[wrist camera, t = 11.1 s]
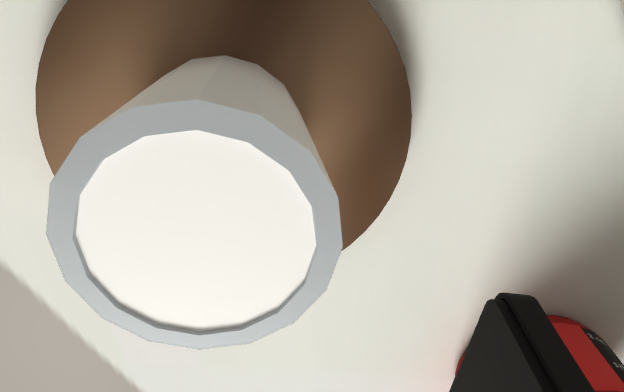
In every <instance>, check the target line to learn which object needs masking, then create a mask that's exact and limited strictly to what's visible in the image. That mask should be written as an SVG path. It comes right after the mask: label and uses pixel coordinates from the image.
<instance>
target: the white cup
mask: <svg viewBox="0 0 624 392" xmlns="http://www.w3.org/2000/svg"><path fill="white" fill-rule="evenodd" d="M46 235H47V237H48V240H49V242H50V245H51V247H52V250H53V252H54V255H55V257H56V259H57V262H58V264H59V267H60V269H61V272H62V274H63V277H64V279H65V281H66V282H67V283H68V284H69V285H70V286H71V287H72V288H73V289H74V290H75V291H76V292H77V293H78V294H79V295H80V296H81V297H82V298H83V299H84V301H85V302H86V303H87V304H88V305H89V306H90V307H91V308H92V309H93V310H94V311H95V312H96V313H97V314H98V315H99V316H100V317H101V318H103V319H105V320H107V321H109V322H111V323H113V324H115V325H117V326H119V327H121V328H123V329H125V330H127V331H129V332H131V333H133V334H135V335H137V336H139V337H141V338H143V339H145V340H147V341H150V342H156V343H162V344H168V345H174V346H180V347H186V348H192V349H198V350H202V349H210V348H218V347H226V346H234V345H242V344H250V343H252V342H254V341H256V340H258V339H261V338H263V337H265V336H267V335H269V334H271V333H273V332H276V331H278V330H280V329H282V328H284V327H286V326H288V325H291V324H293V323H294V322H295V321H296V320H297V319H298V318H299V317H300V316H301V315H302V314H303V313H304V312H305V311H306V310H307V309H308V308H309V307H310V306H311V305H312V304H313V303H314V302H315V301H316V300H317V299H318V298H319V297H320V296H321V295H322V294H323V293H324V292H325V291H326V290H327V287H328V284H329V282H330V279H331V276H332V274H333V271H334V268H335V266H336V263H337V261H338V258H339V255H340V253H341V250H342V247H343V244H342V233H341V222H340V211H339V200H338V196H337V194H336V192H335V190H334V187H333V185H332V183H331V181H330V178H329V176H328V174H327V172H326V169H325V167H324V165H323V163H322V161H321V158H320V156H319V154H318V152H317V149H316V147H315V145H314V143H313V140H312V138H311V136H310V134H309V131H308V129H307V127H306V125H305V123H304V120H303V118H302V116H301V114H300V111H299V110H298V108H297V106H296V104H295V103H294V101H293V99H292V98H291V96H290V94H289V92H288V91H287V89H286V87H285V86H284V84H283V83H281V82H280V81H279V80H277V79H276V78H275V77H274V76H272V75H271V74H270V73H268V72H267V71H266V70H264V69H263V68H262V67H260V66H259V65H258V64H255V63H251V62H248V61H244V60H240V59H237V58H233V57H229V56H226V55H223V56H214V57H206V58H198V59H191V60H189V61H188V62H186V63H184V64H183V65H181V66H179V67H178V68H176V69H174V70H173V71H171V72H169V73H167V74H166V75H164V76H163V77H161V78H160V79H159V80H157V81H156V82H155V83H153V84H152V85H150V86H149V87H148V88H146V89H145V90H144V91H142V92H141V93H140V94H138V95H137V96H136V97H134V98H133V99H131V100H130V101H129V102H127V103H126V104H125V105H123V106H122V107H121V108H119V109H118V110H117V111H115V112H114V113H112V114H111V115H110V116H108V117H107V118H106V119H104V120H103V121H102V122H100V123H99V124H98V125H96V126H95V127H93V128H92V129H91V130H89V131H88V132H87V133H85V134H84V135H83V136H81V137H80V138H79V140H78V141H77V143H76V144H75V146H74V147H73V149H72V150H71V152H70V153H69V155H68V156H67V158H66V160H65V161H64V163H63V164H62V166H61V167H60V169H59V170H58V172H57V173H56V175H55V177H54V178H53V180H52V181H51V183H50V191H49V204H48V217H47V230H46Z"/></svg>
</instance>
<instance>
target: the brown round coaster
mask: <svg viewBox="0 0 624 392" xmlns="http://www.w3.org/2000/svg"><path fill="white" fill-rule="evenodd" d="M223 55H226V56H229V57H233V58H237V59H240V60H244V61H248V62H251V63H255V64H258V65H259V66H260V67H262V68H263V69H264V70H266V71H267V72H268V73H270V74H271V75H272V76H274V77H275V78H276V79H277V80H279V81H280V82H281V83H283V84H284V86H285V87H286V89H287V91H288V92H289V94H290V96H291V98H292V99H293V101H294V103H295V104H296V106H297V108H298V110H299V111H300V114H301V116H302V118H303V120H304V123H305V125H306V127H307V129H308V131H309V134H310V136H311V138H312V140H313V143H314V145H315V147H316V149H317V152H318V154H319V156H320V158H321V161H322V163H323V165H324V167H325V169H326V172H327V174H328V176H329V178H330V181H331V183H332V185H333V187H334V190H335V192H336V194H337V196H338V200H339V211H340V222H341V233H342V244H343V247H342V250H344V249H345V248H346V247H348V246H349V245H351V244H352V243H353V242H354V241H355V240H356V239H357V238H358V237H359V236H360V235H362V234H363V233H364V232H365V231H366V230H367V228H368V227H369V226H370V225H371V224H372V223H373V222H374V220H375V219H376V218H377V217H378V216H379V214H380V213H381V211H382V210H383V208H384V207H385V205H386V204H387V202H388V201H389V199H390V197H391V195H392V193H393V191H394V189H395V187H396V185H397V183H398V181H399V179H400V176H401V173H402V170H403V167H404V164H405V161H406V158H407V153H408V147H409V142H410V136H411V119H412V113H411V100H410V91H409V86H408V81H407V77H406V72H405V68H404V66H403V63H402V60H401V57H400V55H399V52H398V49H397V47H396V45H395V43H394V41H393V39H392V37H391V35H390V33H389V31H388V30H387V28H386V26H385V24H384V22H383V21H382V20H381V18H380V17H379V16H378V14H377V13H376V11H375V10H374V9H373V7H372V6H371V5H370V3H369V2H368V1H367V0H68V2H67V3H66V4H65V6H64V7H63V9H62V10H61V12H60V13H59V15H58V16H57V18H56V20H55V22H54V24H53V26H52V28H51V31H50V33H49V35H48V37H47V39H46V42H45V45H44V49H43V52H42V55H41V59H40V62H39V68H38V75H37V82H36V116H37V122H38V128H39V135H40V139H41V142H42V145H43V149H44V152H45V155H46V159H47V161H48V163H49V165H50V168H51V170H52V172H53V174H54V176H55V175H56V173H57V172H58V170H59V169H60V167H61V166H62V164H63V163H64V161H65V160H66V158H67V156H68V155H69V153H70V152H71V150H72V149H73V147H74V146H75V144H76V143H77V141H78V140H79V138H80V137H81V136H83V135H84V134H85V133H87V132H88V131H89V130H91V129H92V128H93V127H95V126H96V125H98V124H99V123H100V122H102V121H103V120H104V119H106V118H107V117H108V116H110V115H111V114H112V113H114V112H115V111H117V110H118V109H119V108H121V107H122V106H123V105H125V104H126V103H127V102H129V101H130V100H131V99H133V98H134V97H136V96H137V95H138V94H140V93H141V92H142V91H144V90H145V89H146V88H148V87H149V86H150V85H152V84H153V83H155V82H156V81H157V80H159V79H160V78H161V77H163V76H164V75H166V74H167V73H169V72H171V71H173V70H174V69H176V68H178V67H179V66H181V65H183V64H184V63H186V62H188V61H189V60H191V59H198V58H206V57H214V56H223ZM342 250H341V251H342Z"/></svg>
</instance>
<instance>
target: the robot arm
mask: <svg viewBox="0 0 624 392" xmlns="http://www.w3.org/2000/svg"><path fill="white" fill-rule="evenodd" d="M621 7H622V10H623V14H624V0H621ZM449 392H595V390H594V389H593V387H592V386H591V384H590V383H589V381H588V379H587V378H586V376H585V375H584V373H583V372H582V370H581V369H580V367H579V365H578V364H577V362H576V361H575V359H574V358H573V356H572V354H571V353H570V351H569V350H568V348H567V347H566V345H565V343H564V342H563V340H562V339H561V337H560V336H559V334H558V332H557V331H556V329H555V328H554V326H553V325H552V323H551V321H550V320H549V318H548V317H547V315H546V314H545V312H544V311H543V309H542V307H541V306H540V304H539V303H538V301H537V300H536V299H535V298H534V297H532V296H529V295H520V294H511V293H499V294H498V295H497V296H496V298H495V299H490V300H488V301H487V302H486V304H485V306H484V309H483V311H482V314H481V316H480V318H479V321H478V323H477V326H476V328H475V331H474V333H473V335H472V338H471V340H470V343H469V345H468V347H467V350H466V352H465V355H464V357H463V360H462V362H461V364H460V367H459V369H458V372H457V374H456V377H455V379H454V381H453V384H452V386H451V389H450V391H449Z"/></svg>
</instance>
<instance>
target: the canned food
mask: <svg viewBox="0 0 624 392" xmlns="http://www.w3.org/2000/svg"><path fill="white" fill-rule="evenodd" d="M547 317H548V318H549V320H550V321H551V323H552V325H553V326H554V328H555V329H556V331H557V332H558V334H559V336H560V337H561V339H562V340H563V342H564V343H565V345H566V347H567V348H568V350H569V351H570V353H571V354H572V356H573V358H574V359H575V361H576V362H577V364H578V365H579V367H580V369H581V370H582V372H583V373H584V375H585V376H586V378H587V379H588V381H589V383H590V384H591V386H592V387H593V389H594V390H595V392H624V365H623V363H622V362H621V361H620V360H619V358H618V357H617V356H616V355H615V353H614V352H613V351H612V350H611V349H610V347H609V346H608V345H607V344H606V342H605V341H604V340H603V339H602V338H601V337H600V336H598V335H597V334H595V333H594V332H592V331H591V330H589V329H588V328H586V327H585V326H583V325H582V324H580V323H579V322H576V321H574V320H571V319H569V318H565V317H559V316H552V315H547ZM464 355H465V353H464V354H463V356H462V358H461V360H460V361H459V363H458V366H457V370H456V373H455V377H456V374H457V372H458V369H459V367H460V364H461V362H462V360H463V357H464Z"/></svg>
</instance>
